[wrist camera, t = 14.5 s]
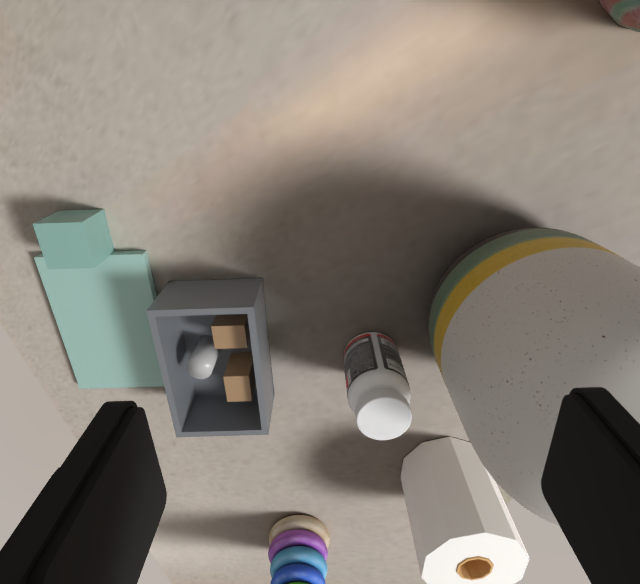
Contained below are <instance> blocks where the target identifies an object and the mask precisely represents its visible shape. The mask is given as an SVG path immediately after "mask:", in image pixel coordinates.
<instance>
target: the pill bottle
mask: <svg viewBox="0 0 640 584" xmlns="http://www.w3.org/2000/svg"><path fill="white" fill-rule="evenodd" d="M344 369H345V378H346V387H347V397H348V402H349V405H350V408H351V409H352V411H353V412H354V413H355V417H356V422H357V426H358V428H359V430H360V431H361V432H362V433H363V434H364V435H365V436H367V437H369V438H372V439H375V440H390V439H393V438H396V437H398V436H400V435H402V434H403V433H404V432H405V431H406V430H407V429H408V428H409V426H410V424H411V420H412V414H411V410H410V406H409V403H410V398H411V392H410V387H409V384H408V381H407V378H406V374H405V371H404V368H403V365H402V361H401V358H400V355H399V352H398V349H397V346H396V344H395V343H394V342H393V340H392V339H390V338H389V337H388V336H386V335H384V334H381V333H377V332H367V333H363V334H360V335H358V336H356V337H354V338H353V339H352V340H351V341H350V342H349V343H348V344H347V346H346V348H345V351H344Z"/></svg>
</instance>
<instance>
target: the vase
mask: <svg viewBox="0 0 640 584" xmlns="http://www.w3.org/2000/svg"><path fill="white" fill-rule="evenodd" d="M428 330H429V338H430V343H431V347H432V350H433V353H434V356H435V359H436V362H437V364H438V367H439V369H440V372H441V374H442V377H443V379H444V382H445V384H446V386H447V389H448V391H449V394H450V396H451V398H452V401H453V403H454V405H455V408H456V410H457V412H458V415H459V417H460V419H461V422H462V424H463V426H464V429H465V431H466V433H467V436H468V438H469V440H470V442H471V444H472V446H473V448H474V450H475V452H476V454H477V455H478V457H479V459H480V461H481V462H482V464H483V465H484V467H485V468H486V469H487V471H488V472H489V473H490V475H491V476H492V478H493V479H494V480H495V481H496V482H497V483H498V484H499V485H500V486H501V487H502V488H503V489H504V490H505V491H506V492H507V493H508V494H509V495H510V496H511V497H512V498H513V499H515V500H516V501H517V502H518V503H519V504H521V505H522V506H524V507H525V508H526V509H527V510H529V511H531V512H533V513H534V514H536V515H537V516H539V517H541V518H543V519H545V520H547V521H549V522H551V523H554V524H556V525H559V524H558V522H557V520H556V518H555V516H554V514H553V513H552V511H551V509H550V507H549V505H548V503H547V502H546V500H545V498H544V496H543V493H542V489H541V478H542V475H543V471H544V467H545V463H546V459H547V456H548V452H549V448H550V444H551V440H552V437H553V433H554V429H555V425H556V422H557V418H558V414H559V410H560V406H561V403H562V399H563V397H564V396H565V395H569V393H570V391H571V390H572V389H573V388H582V387H603V388H605V389H606V390H608V391H609V392H610V393H611V394H612V395H613V396H614V398H615V399H616V400H617V401H618V402H619V403H620V404H621V405H622V406H623V407H624V408H625V409H626V410H627V411H628V412H629V413H630V414H631V415H632V416H633V417H634V419H635V420H636V421H637V422H638V423H639V424H640V267H638V266H637V265H635V264H633V263H631V262H629V261H628V260H626V259H624V258H622V257H620V256H619V255H617V254H615V253H613V252H611V251H609V250H608V249H606V248H604V247H602V246H600V245H598V244H596V243H594V242H592V241H590V240H588V239H586V238H584V237H581V236H578V235H576V234H573V233H569V232H566V231H562V230H557V229H549V228H523V229H516V230H511V231H507V232H503V233H500V234H497V235H494V236H491V237H489V238H487V239H484V240H483V241H481V242H479V243H477V244H475V245H474V246H472V247H471V248H469V249H468V250H466V251H465V252H464V253H463V254H461V255H460V256H459V257H458V258H457V259H456V260H455V261H454V262H453V263H452V264H451V266H450V267H449V268H448V269H447V271H446V272H445V273H444V275H443V276H442V278H441V280H440V281H439V283H438V285H437V287H436V290H435V292H434V295H433V298H432V301H431V305H430V310H429V320H428ZM559 526H560V525H559Z"/></svg>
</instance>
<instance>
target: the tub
mask: <svg viewBox="0 0 640 584" xmlns="http://www.w3.org/2000/svg"><path fill="white" fill-rule="evenodd" d="M146 312H147V316H148V320H149V324H150V329H151V333H152V337H153V341H154V345H155V350H156V354H157V358H158V362H159V366H160V370H161V375H162V379H163V383H164V387H165V391H166V396H167V400H168V404H169V408H170V412H171V417H172V421H173V425H174V429H175V433H176V437H201V436H235V435H268V434H269V427H270V420H271V413H272V407H273V400H274V387H273V378H272V368H271V358H270V348H269V338H268V329H267V319H266V309H265V299H264V289H263V280H262V278H249V279H219V280H189V281H169V282H168V283H167V284H166V286H165V287H164V288H163V289H162V291H161V292H160V293H159V295H158V296H157V297H156V299H155V300H154V301H153V302H152V304H151V305H150V306H149V308H148V309H147V310H146Z"/></svg>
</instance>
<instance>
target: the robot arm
mask: <svg viewBox="0 0 640 584" xmlns="http://www.w3.org/2000/svg"><path fill="white" fill-rule="evenodd" d="M541 489H542V493H543V496H544V498H545V500H546V502H547V503H548V505H549V507H550V509H551V511H552V513H553V514H554V516H555V518H556V520H557V522H558V524H559V525H560V527H561V529H562V531H563V533H564V534H565V536H566V538H567V540H568V542H569V544H570V545H571V547H572V549H573V551H574V553H575V555H576V556H577V558H578V560H579V562H580V563H581V565H582V567H583V569H584V571H585V573H586V575H587V576H588V578H589V580H590V582H591V584H640V424H639V423H638V422H637V421H636V420H635V419H634V417H633V416H632V415H631V414H630V413H629V412H628V411H627V410H626V409H625V408H624V407H623V406H622V405H621V404H620V403H619V402H618V401H617V400H616V399H615V398H614V396H613V395H612V394H611V393H610V392H609V391H608V390H606V389H605V388H603V387H582V388H573V389H572V390H571V391H570V393H569V395H565V396H564V397H563V399H562V403H561V406H560V410H559V414H558V418H557V422H556V425H555V429H554V433H553V437H552V440H551V444H550V448H549V452H548V456H547V459H546V463H545V467H544V471H543V475H542V478H541ZM166 497H167V494H166V488H165V484H164V480H163V477H162V473H161V469H160V465H159V462H158V458H157V454H156V451H155V447H154V443H153V440H152V436H151V432H150V429H149V425H148V421H147V418H146V414H145V411H144V409H143V408H142V407H137V405H136V403H135V402H134V401H111V402H106V403H104V404H103V405H102V407H101V408H100V410H99V411H98V413H97V414H96V415H95V417H94V418H93V420H92V421H91V423H90V424H89V426H88V427H87V429H86V430H85V432H84V433H83V435H82V436H81V438H80V439H79V440H78V442H77V443H76V445H75V446H74V448H73V450H72V451H71V452H70V454H69V455H68V457H67V458H66V460H65V461H64V463H63V464H62V466H61V467H60V468H58V469H57V470H56V472H55V473H54V474H53V475H52V476H51V478H50V479H49V481H48V482H47V484H46V485H45V487H44V488H43V490H42V491H41V493H40V494H39V495H38V497H37V498H36V500H35V501H34V503H33V504H32V506H31V507H30V509H29V510H28V511H27V513H26V514H25V516H24V517H23V519H22V520H21V522H20V523H19V525H18V526H17V528H16V529H15V530H14V532H13V534H12V535H11V536H10V538H9V539H8V541H7V542H6V544H5V545H4V546H3V548H2V549H1V551H0V584H137V582H138V579H139V577H140V574H141V571H142V568H143V566H144V563H145V560H146V557H147V555H148V552H149V549H150V546H151V544H152V541H153V538H154V536H155V533H156V530H157V527H158V525H159V522H160V519H161V516H162V514H163V511H164V508H165V504H166Z"/></svg>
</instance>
